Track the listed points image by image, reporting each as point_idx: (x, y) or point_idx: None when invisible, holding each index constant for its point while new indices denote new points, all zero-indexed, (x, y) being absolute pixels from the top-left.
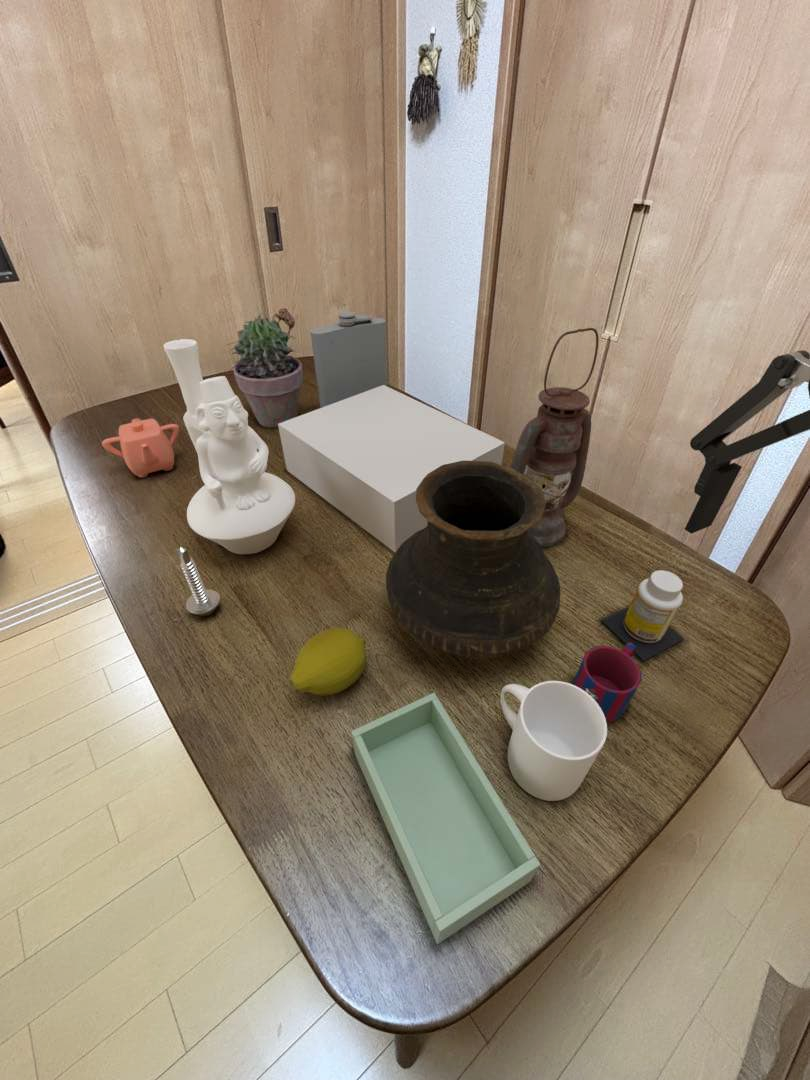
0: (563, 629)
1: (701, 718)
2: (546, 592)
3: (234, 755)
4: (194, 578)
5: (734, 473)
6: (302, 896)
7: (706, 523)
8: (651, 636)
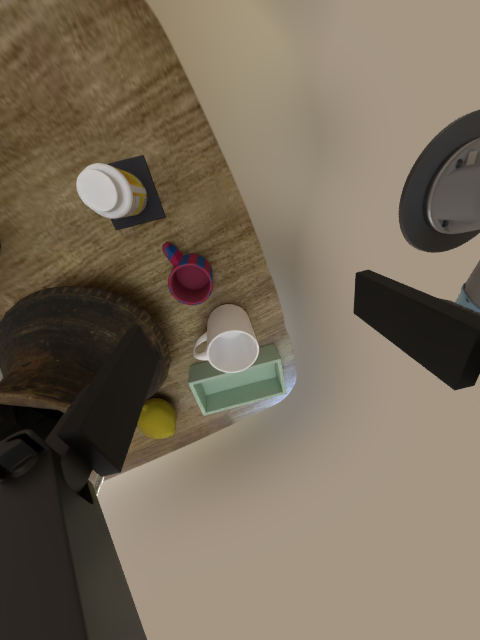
0: (126, 267)
1: (222, 201)
2: (119, 326)
3: (196, 432)
4: (99, 483)
5: (98, 427)
6: (252, 410)
7: (144, 346)
8: (144, 202)
